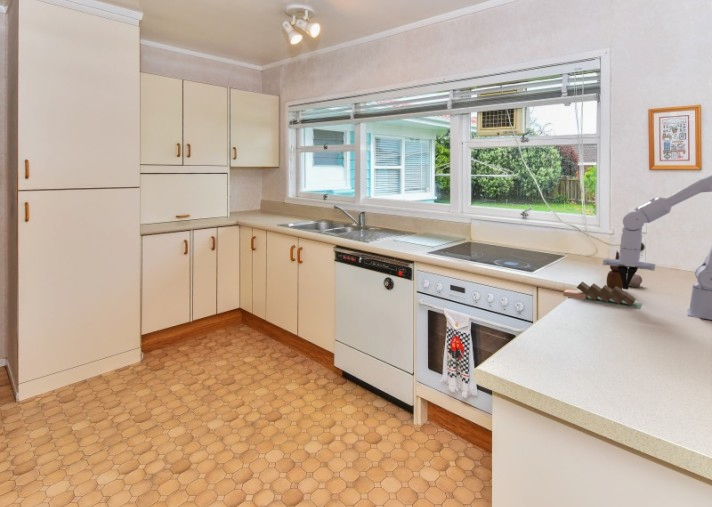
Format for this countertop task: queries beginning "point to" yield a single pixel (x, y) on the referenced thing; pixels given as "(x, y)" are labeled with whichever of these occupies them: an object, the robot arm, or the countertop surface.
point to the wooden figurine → (614, 276)
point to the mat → (611, 302)
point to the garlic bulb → (635, 281)
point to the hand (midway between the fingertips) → (625, 288)
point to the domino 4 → (623, 295)
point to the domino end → (575, 294)
